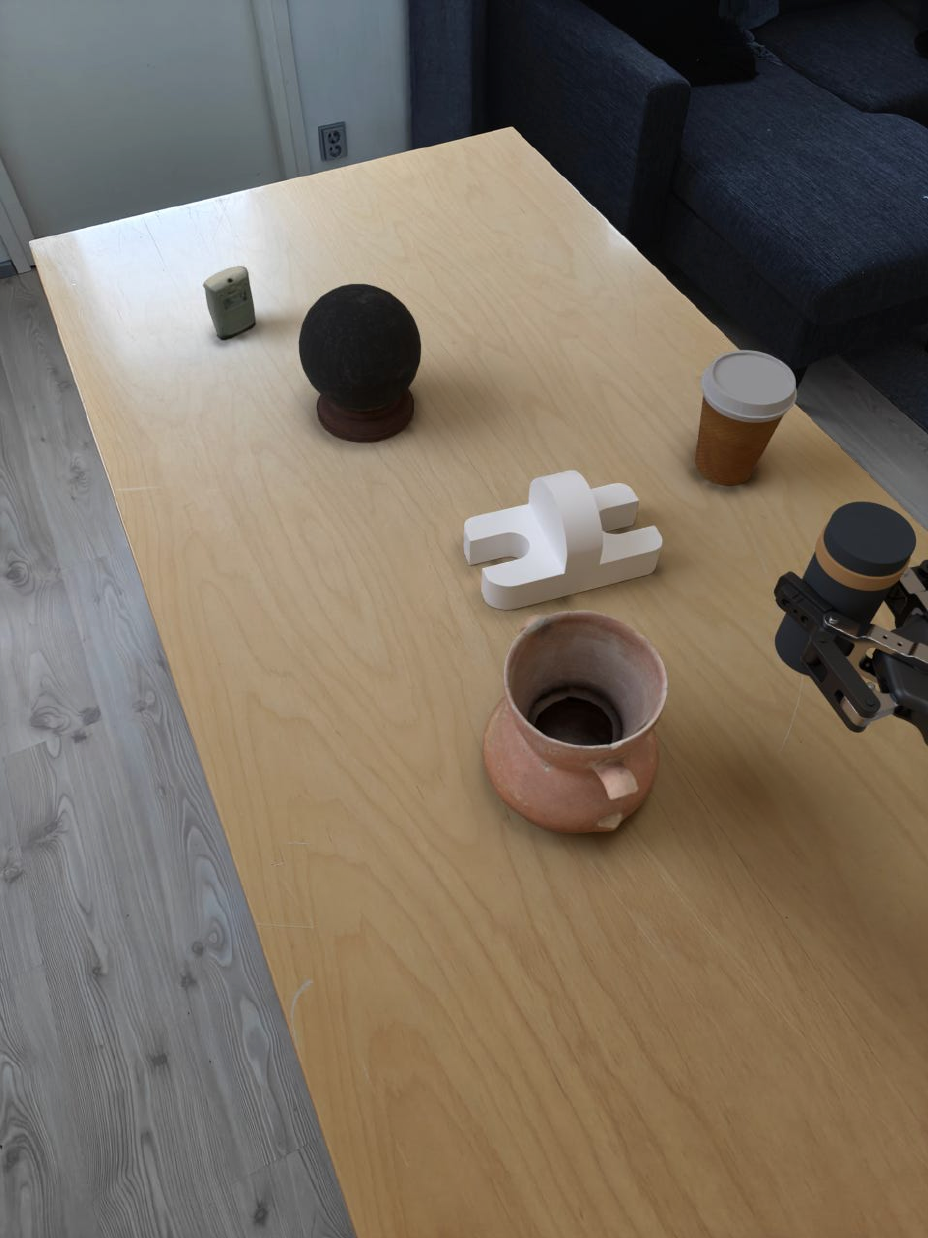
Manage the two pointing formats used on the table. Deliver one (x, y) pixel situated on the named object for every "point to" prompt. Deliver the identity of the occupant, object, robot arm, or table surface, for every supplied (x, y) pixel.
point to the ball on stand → (361, 361)
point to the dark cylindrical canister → (852, 569)
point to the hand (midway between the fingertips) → (811, 563)
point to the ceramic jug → (576, 722)
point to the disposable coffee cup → (740, 413)
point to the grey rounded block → (230, 301)
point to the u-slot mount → (560, 542)
